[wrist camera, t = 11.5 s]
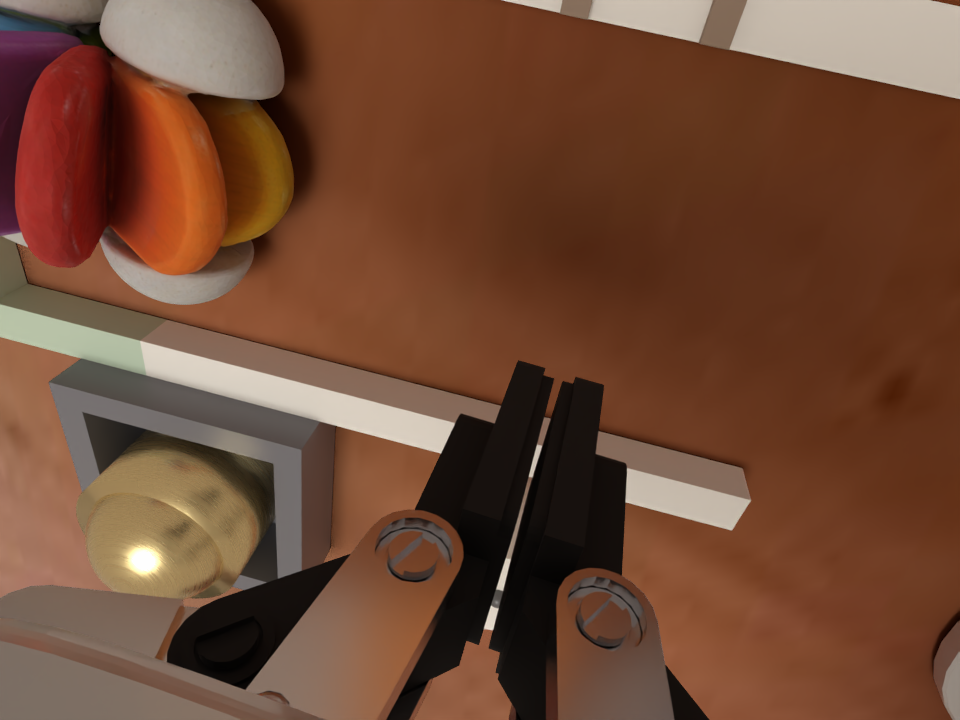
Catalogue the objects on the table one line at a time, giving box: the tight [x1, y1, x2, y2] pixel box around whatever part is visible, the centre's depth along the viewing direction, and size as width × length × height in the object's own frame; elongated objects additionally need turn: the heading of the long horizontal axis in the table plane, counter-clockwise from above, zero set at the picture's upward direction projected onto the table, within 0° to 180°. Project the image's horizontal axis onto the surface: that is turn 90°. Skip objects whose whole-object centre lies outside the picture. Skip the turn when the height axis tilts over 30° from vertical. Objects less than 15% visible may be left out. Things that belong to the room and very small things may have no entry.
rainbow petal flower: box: [0, 0, 294, 305], centre depth 14 cm, size 8×10×7 cm
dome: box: [76, 430, 276, 600], centre depth 22 cm, size 6×6×6 cm
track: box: [0, 0, 960, 530], centre depth 17 cm, size 28×15×2 cm, turn 80°
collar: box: [49, 358, 335, 590], centre depth 23 cm, size 9×9×3 cm
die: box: [484, 477, 532, 630], centre depth 22 cm, size 4×4×4 cm
